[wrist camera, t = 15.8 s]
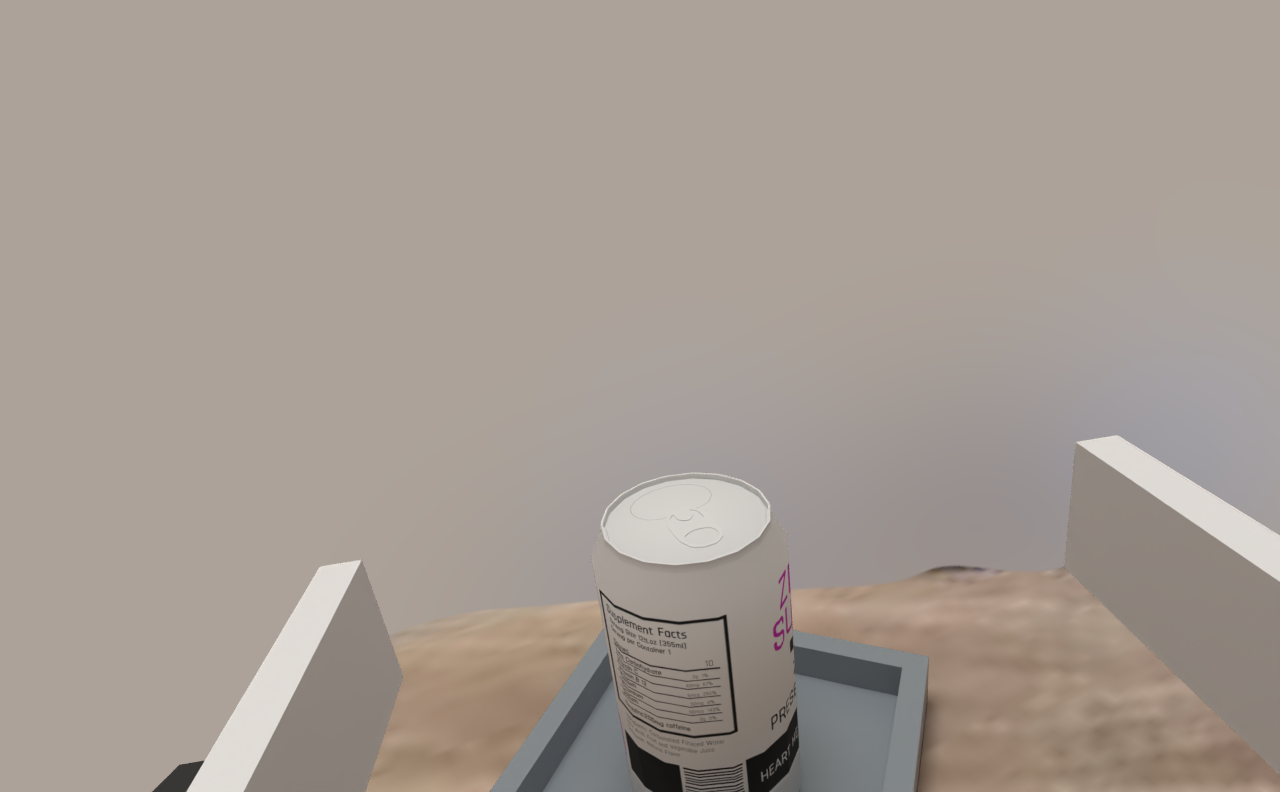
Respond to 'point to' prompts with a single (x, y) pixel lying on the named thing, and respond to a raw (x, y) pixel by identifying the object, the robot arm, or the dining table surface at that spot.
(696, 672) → the supplement can
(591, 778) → the tray
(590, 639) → the dining table surface
